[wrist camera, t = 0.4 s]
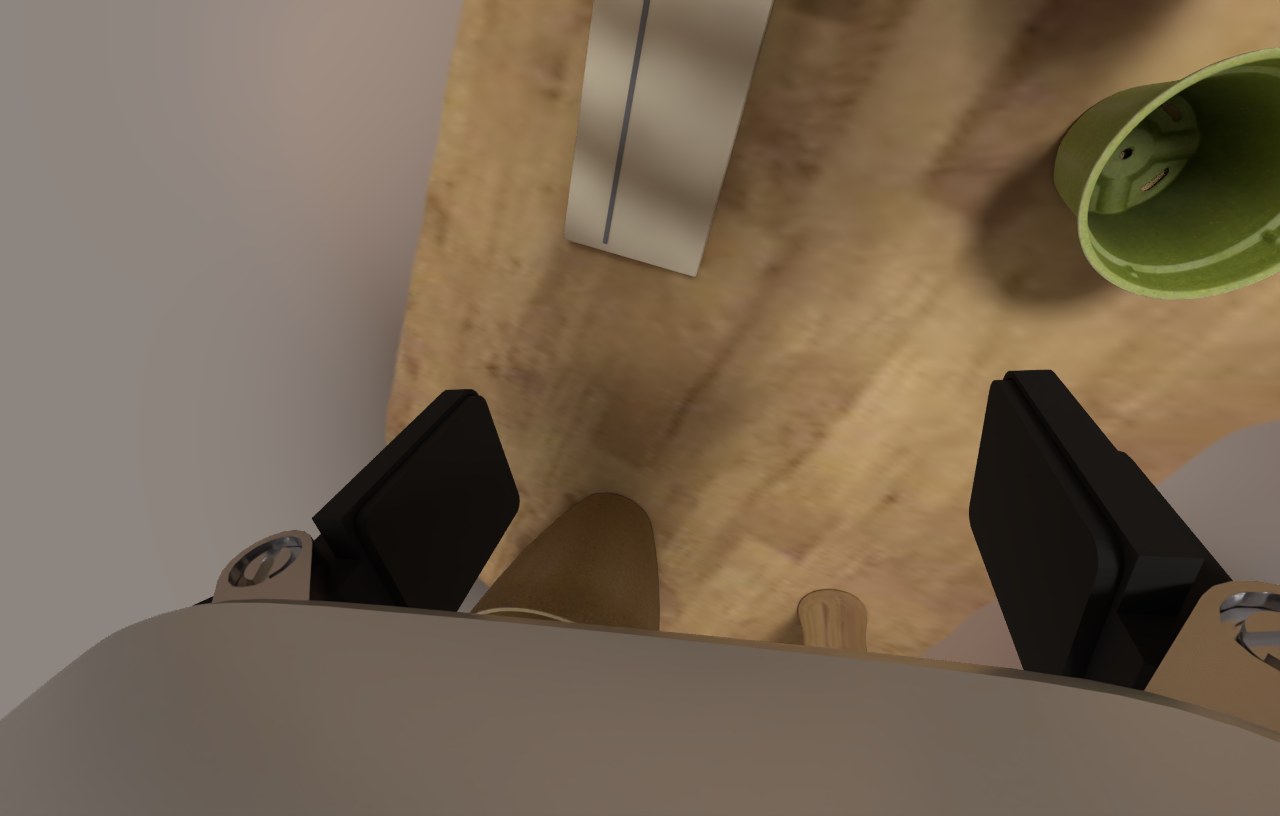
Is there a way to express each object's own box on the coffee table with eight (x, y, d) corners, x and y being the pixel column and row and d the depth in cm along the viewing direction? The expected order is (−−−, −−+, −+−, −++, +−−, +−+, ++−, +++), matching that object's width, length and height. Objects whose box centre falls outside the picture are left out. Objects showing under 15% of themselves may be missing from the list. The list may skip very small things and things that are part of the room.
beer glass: (828, 574, 49) (839, 747, 37) (889, 613, 50) (920, 796, 38) (777, 609, 53) (772, 776, 41) (834, 645, 54) (846, 820, 42)
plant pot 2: (1099, 276, 32) (1186, 339, 25) (974, 181, 31) (1027, 220, 24) (1286, 122, 27) (1462, 148, 20) (1143, 2, 26) (1274, -16, 19)
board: (657, -380, 23) (645, -414, 21) (869, -338, 22) (875, -370, 21) (573, 230, 38) (562, 239, 36) (699, 267, 37) (695, 277, 36)
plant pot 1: (574, 430, 47) (490, 576, 34) (721, 516, 49) (694, 688, 36) (515, 528, 56) (429, 674, 43) (642, 599, 57) (596, 762, 44)
